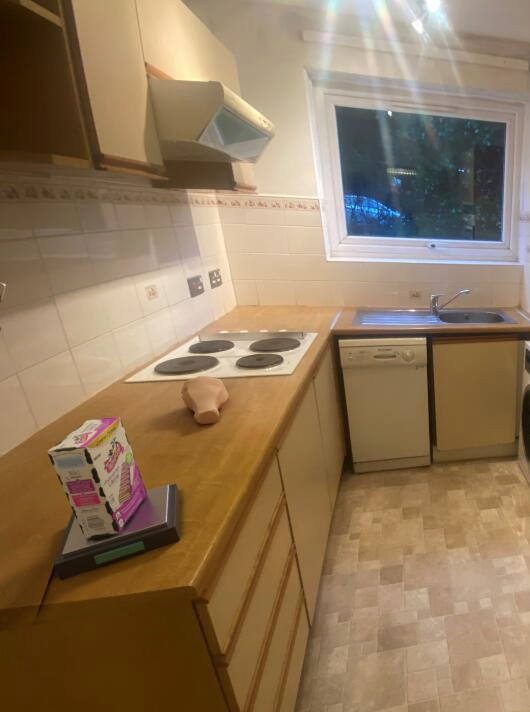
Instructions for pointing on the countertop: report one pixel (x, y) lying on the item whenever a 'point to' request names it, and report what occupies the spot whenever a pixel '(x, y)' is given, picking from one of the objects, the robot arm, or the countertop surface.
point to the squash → (204, 398)
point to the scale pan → (143, 520)
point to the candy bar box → (99, 476)
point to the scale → (121, 543)
